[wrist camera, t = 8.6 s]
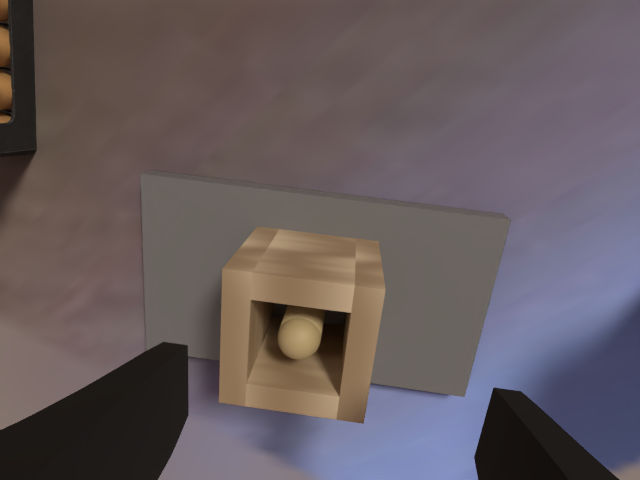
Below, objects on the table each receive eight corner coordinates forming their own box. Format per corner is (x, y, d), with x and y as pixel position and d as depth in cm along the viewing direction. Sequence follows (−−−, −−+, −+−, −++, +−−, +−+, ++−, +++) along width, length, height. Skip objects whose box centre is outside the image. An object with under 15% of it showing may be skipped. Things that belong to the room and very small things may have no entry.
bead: (378, 241, 18) (385, 289, 13) (362, 347, 20) (363, 423, 15) (257, 226, 18) (222, 268, 14) (251, 332, 20) (218, 402, 15)
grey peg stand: (503, 213, 18) (564, 261, 13) (459, 383, 21) (494, 481, 16) (151, 170, 19) (67, 197, 14) (155, 339, 22) (87, 417, 17)
